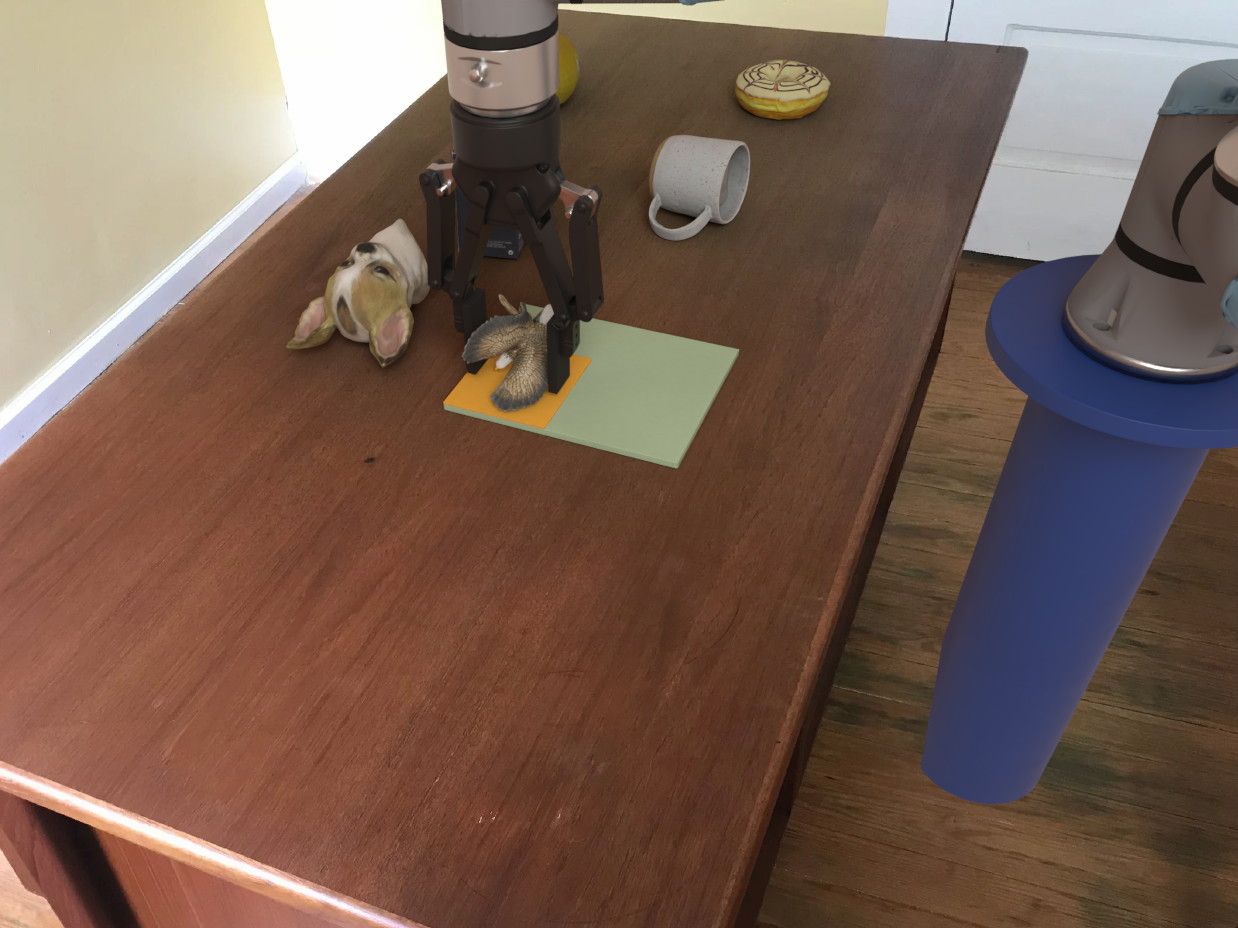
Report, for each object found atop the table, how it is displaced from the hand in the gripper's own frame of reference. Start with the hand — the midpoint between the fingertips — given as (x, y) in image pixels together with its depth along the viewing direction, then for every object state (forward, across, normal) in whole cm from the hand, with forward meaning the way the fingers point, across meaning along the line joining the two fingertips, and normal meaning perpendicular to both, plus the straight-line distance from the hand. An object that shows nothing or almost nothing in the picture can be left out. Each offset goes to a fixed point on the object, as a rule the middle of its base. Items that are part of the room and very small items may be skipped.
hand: (518, 373), depth 91 cm
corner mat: (+1, +6, +3) cm, 6 cm away
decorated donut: (+2, +6, +61) cm, 61 cm away
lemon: (+2, -20, +53) cm, 57 cm away
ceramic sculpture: (+2, -16, +3) cm, 16 cm away
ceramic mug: (+2, +4, +32) cm, 32 cm away
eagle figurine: (0, 0, 0) cm, 1 cm away
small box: (+2, -12, +23) cm, 26 cm away
